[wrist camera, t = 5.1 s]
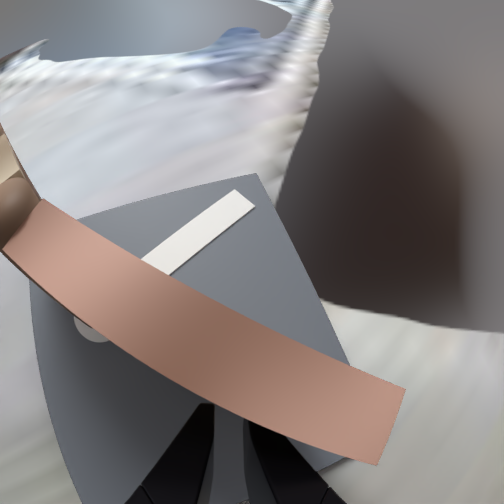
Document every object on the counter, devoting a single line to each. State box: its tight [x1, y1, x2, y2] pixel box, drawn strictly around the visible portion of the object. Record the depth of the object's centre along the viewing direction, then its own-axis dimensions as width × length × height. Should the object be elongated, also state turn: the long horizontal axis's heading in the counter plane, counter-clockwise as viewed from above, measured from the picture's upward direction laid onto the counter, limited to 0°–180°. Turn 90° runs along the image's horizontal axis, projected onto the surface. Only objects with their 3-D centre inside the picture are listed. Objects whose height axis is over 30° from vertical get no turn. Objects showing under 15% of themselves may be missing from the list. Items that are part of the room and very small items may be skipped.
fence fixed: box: [0, 123, 42, 201], centre depth 11 cm, size 4×2×9 cm, turn 46°
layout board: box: [29, 173, 350, 504], centre depth 15 cm, size 18×16×1 cm
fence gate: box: [0, 177, 406, 466], centre depth 9 cm, size 12×2×9 cm, turn 64°
